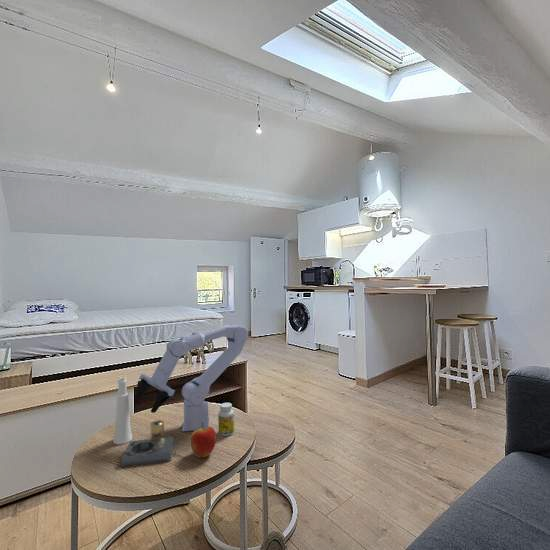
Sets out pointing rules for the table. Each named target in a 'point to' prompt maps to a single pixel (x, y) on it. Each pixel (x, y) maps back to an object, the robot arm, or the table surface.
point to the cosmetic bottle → (122, 414)
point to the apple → (203, 441)
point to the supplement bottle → (226, 419)
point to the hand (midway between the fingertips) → (144, 407)
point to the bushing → (157, 429)
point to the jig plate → (157, 451)
